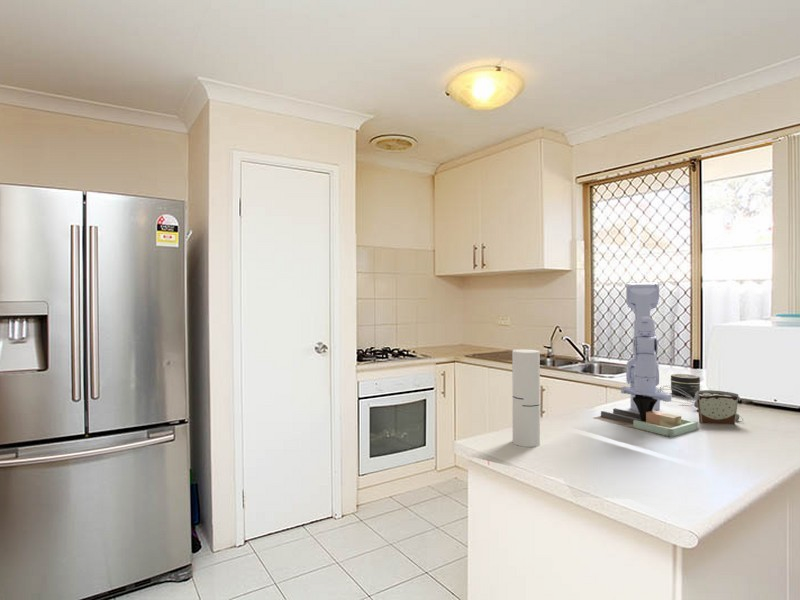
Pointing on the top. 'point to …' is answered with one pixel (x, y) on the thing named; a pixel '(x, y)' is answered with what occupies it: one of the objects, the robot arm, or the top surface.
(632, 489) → the top surface
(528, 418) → the cylindrical container
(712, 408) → the food container
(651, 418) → the terracotta block
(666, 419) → the birch block
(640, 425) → the tray
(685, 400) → the kitchen whisk
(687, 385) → the jar
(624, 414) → the groove board
